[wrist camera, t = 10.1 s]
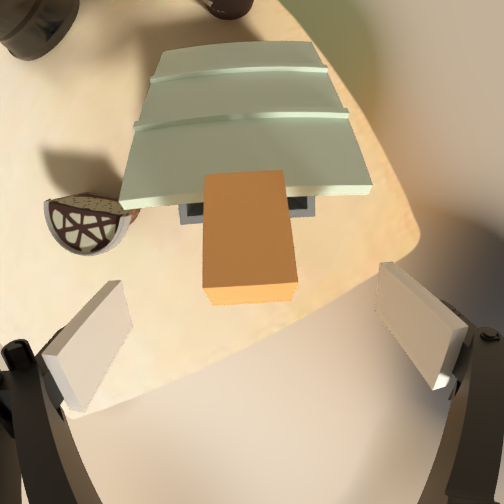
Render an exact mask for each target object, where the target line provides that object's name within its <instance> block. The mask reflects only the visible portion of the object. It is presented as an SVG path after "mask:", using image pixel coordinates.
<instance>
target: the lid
mask: <svg viewBox="0 0 504 504" xmlns="http://www.w3.org/2000/svg"><path fill="white" fill-rule="evenodd" d="M327 71H328V67H327V65H323V63H322V61H321V59H320V57H319V55H318V53H317V52H316V50H315V48H314V46H313V44H312V42H302V41H251V42H233V43H220V44H210V45H201V46H194V47H186V48H180V49H174V50H168V51H163V53H162V56H161V58H160V61H159V63H158V66H157V68H156V71H155V74H154V75H153V76H151V77H150V83H151V85H150V88H149V90H148V93H147V96H146V99H145V102H144V105H143V108H142V112H141V115H140V118H139V121H136V122H135V123H134V126H133V128H134V130H135V135H134V138H133V142H132V146H131V149H130V153H129V157H128V161H127V165H126V169H125V173H124V178H123V182H122V187H121V191H120V196H119V203H120V204H121V206H122V207H123V209H124V210H129V209H138V208H147V207H156V206H166V205H177V204H188V203H199V202H204V210H203V290H204V291H205V293H206V295H207V297H208V298H209V300H210V302H211V303H212V305H213V306H214V305H234V304H252V303H267V302H281V301H291V299H292V297H293V294H294V292H295V289H296V286H297V284H298V277H297V269H296V261H295V253H294V245H293V237H292V229H291V222H290V215H289V208H288V201H287V197H297V196H327V195H368V194H369V192H370V190H371V188H372V186H373V184H372V181H371V178H370V175H369V172H368V169H367V167H366V164H365V161H364V158H363V155H362V153H361V150H360V147H359V145H358V142H357V140H356V137H355V134H354V132H353V129H352V127H351V125H350V122H349V120H348V117H349V111H348V109H347V108H343V106H342V103H341V101H340V99H339V97H338V94H337V92H336V90H335V88H334V86H333V84H332V81H331V79H330V77H329V75H328V73H327Z"/></svg>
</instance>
